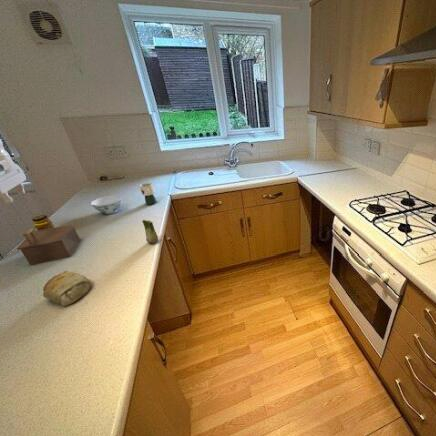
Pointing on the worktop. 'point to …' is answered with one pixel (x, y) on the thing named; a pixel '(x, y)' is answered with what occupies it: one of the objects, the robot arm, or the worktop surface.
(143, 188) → the character mug
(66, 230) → the chest lid
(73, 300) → the pastry
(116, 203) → the chinaware
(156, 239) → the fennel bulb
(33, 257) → the chest
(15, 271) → the worktop surface
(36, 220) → the condiment
